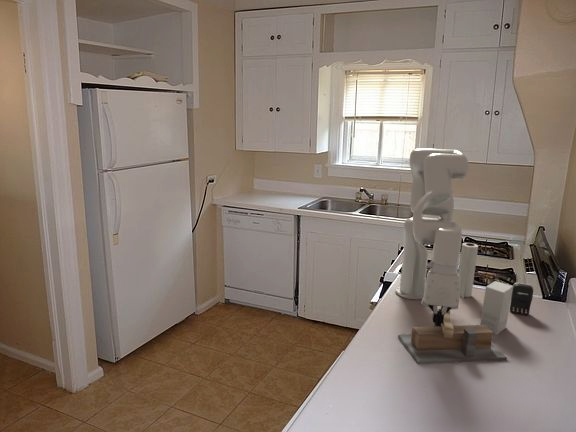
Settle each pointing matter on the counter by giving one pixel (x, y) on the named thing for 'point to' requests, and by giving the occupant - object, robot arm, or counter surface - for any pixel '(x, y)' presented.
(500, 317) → the skincare box
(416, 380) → the counter surface
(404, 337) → the wooden gate latch
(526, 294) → the battery charger
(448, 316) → the bar
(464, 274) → the paper towel roll
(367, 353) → the counter surface
